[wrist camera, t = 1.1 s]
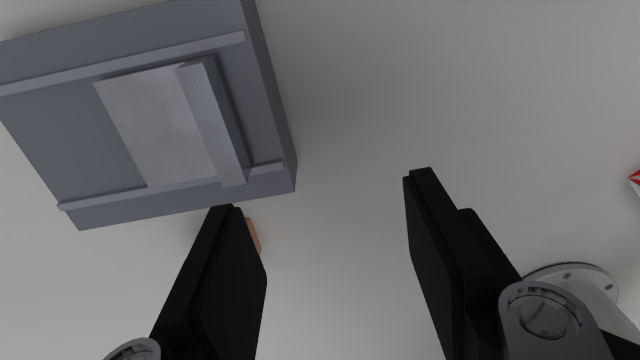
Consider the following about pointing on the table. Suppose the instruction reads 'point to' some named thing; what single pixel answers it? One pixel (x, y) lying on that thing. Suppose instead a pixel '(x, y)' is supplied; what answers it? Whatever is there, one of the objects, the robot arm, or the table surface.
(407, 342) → the table surface
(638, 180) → the puzzle cube
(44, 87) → the socket box
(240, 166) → the shutter
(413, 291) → the table surface
